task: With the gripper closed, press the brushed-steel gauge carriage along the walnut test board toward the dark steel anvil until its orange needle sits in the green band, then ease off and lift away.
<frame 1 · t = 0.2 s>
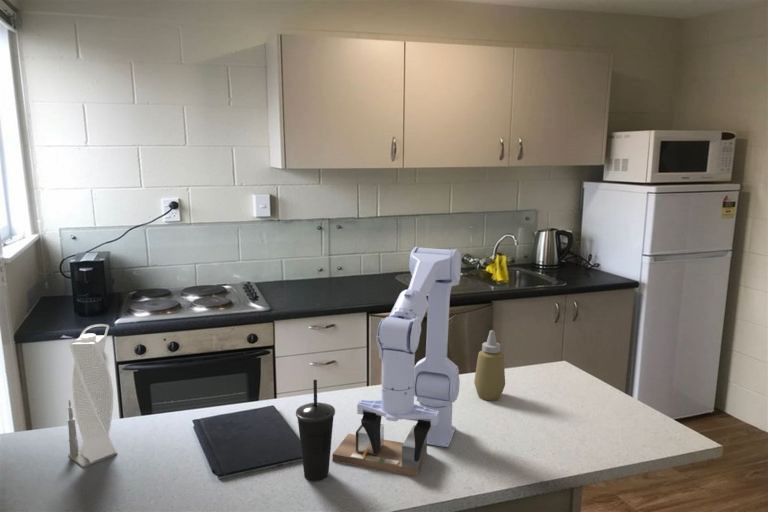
hand: (396, 455, 104), 10 cm above the worktop, fingers open, 7 cm apart
skyscraper: (97, 455, 122), on the worktop
gauge carriage: (368, 440, 121), point 4 cm above the worktop, slide at 0.0 cm
gauge board: (380, 456, 122), on the worktop
squeeze bottle: (489, 397, 152), on the worktop
drinking cup: (316, 475, 115), on the worktop
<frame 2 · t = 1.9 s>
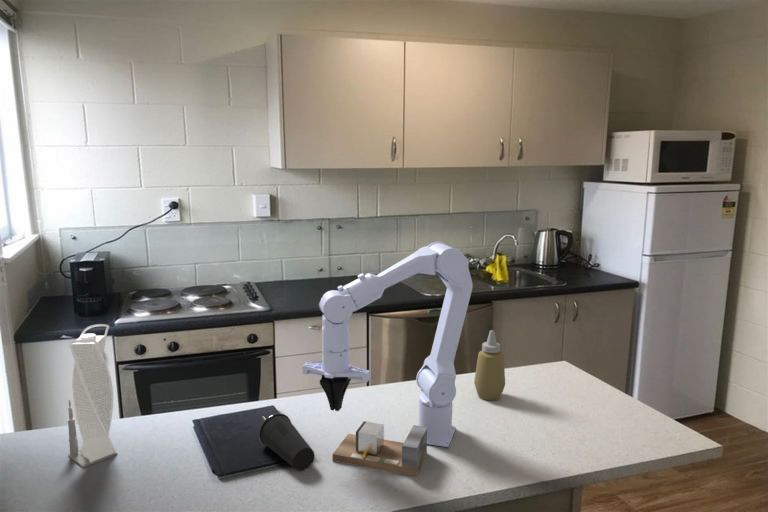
hand: (336, 408, 123), 9 cm above the worktop, fingers closed
drinking cup: (304, 459, 115), point 3 cm above the worktop
everything else where it was.
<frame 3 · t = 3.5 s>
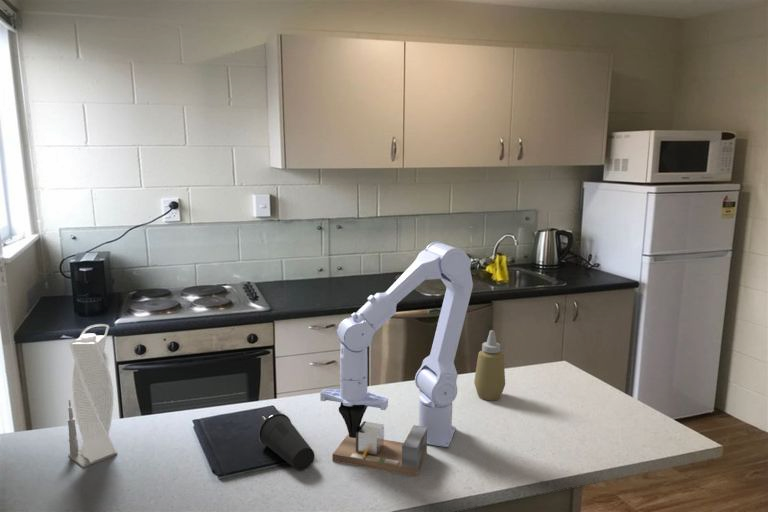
hand: (353, 435, 123), 4 cm above the worktop, fingers closed
gauge carriage: (368, 440, 121), point 4 cm above the worktop, slide at 0.0 cm, touching gripper
everything else where it was.
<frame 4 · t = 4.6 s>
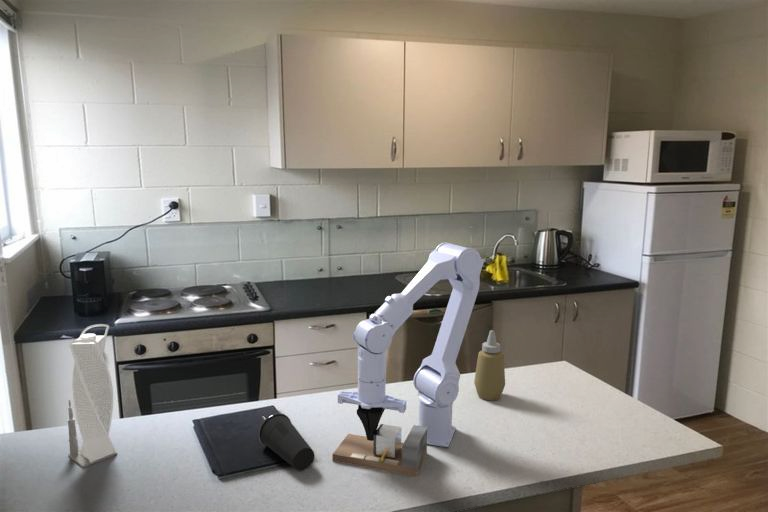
hand: (371, 438, 122), 4 cm above the worktop, fingers closed
gauge carriage: (386, 443, 120), point 4 cm above the worktop, slide at 3.9 cm, touching gripper
everything else where it was.
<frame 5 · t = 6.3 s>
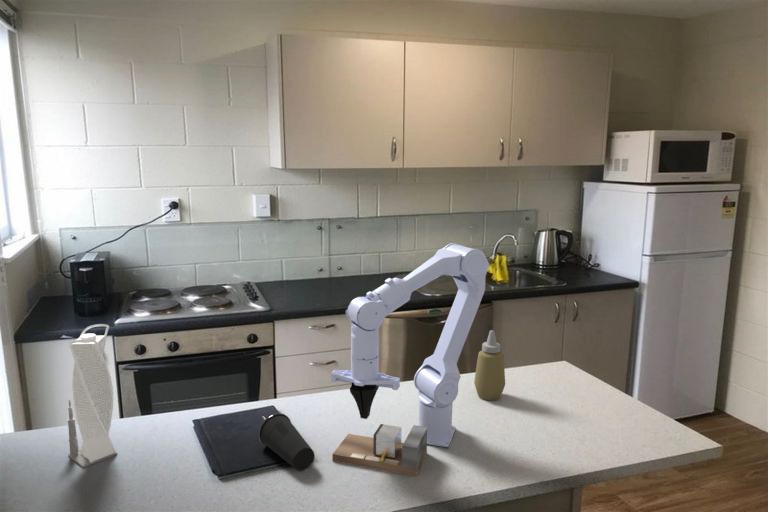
hand: (365, 416, 121), 9 cm above the worktop, fingers closed
gauge carriage: (386, 443, 120), point 4 cm above the worktop, slide at 3.9 cm
everything else where it was.
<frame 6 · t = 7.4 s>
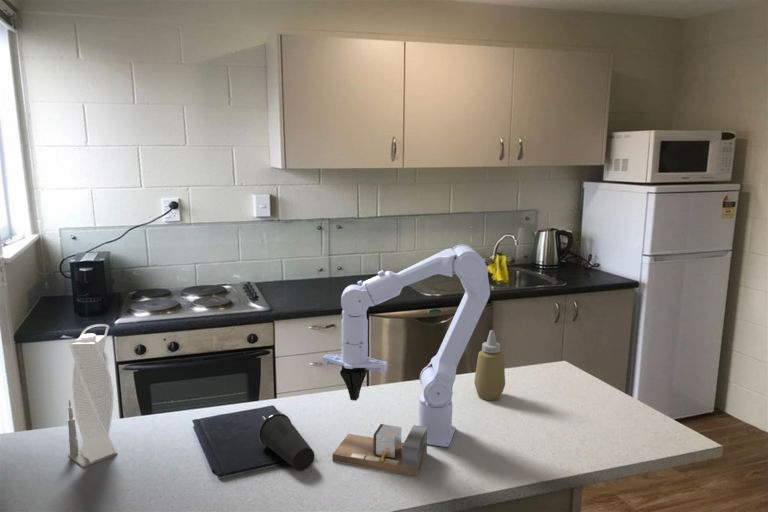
hand: (354, 398, 128), 9 cm above the worktop, fingers closed
nothing on the worktop moved.
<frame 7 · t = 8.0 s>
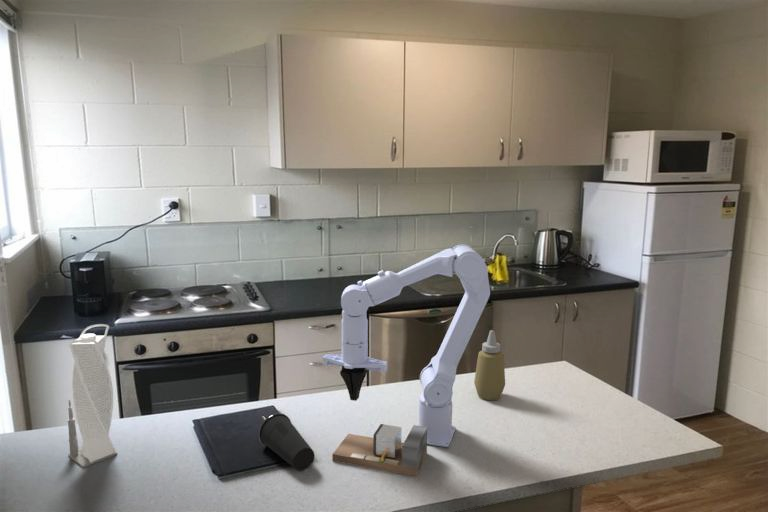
hand: (354, 398, 128), 9 cm above the worktop, fingers closed
nothing on the worktop moved.
at the end: gauge carriage slide at 3.9 cm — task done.
